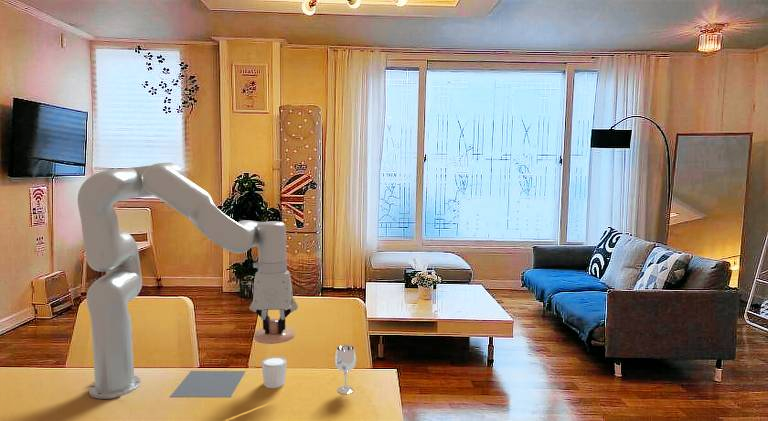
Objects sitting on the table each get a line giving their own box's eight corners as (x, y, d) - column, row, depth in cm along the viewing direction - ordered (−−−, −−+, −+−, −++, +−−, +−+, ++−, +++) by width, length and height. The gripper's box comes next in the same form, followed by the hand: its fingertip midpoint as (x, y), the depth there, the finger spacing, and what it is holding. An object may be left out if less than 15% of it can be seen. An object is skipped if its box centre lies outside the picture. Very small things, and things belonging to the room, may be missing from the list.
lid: (246, 336, 144) (245, 320, 143) (279, 326, 151) (279, 311, 151) (268, 347, 136) (268, 330, 135) (302, 336, 144) (302, 320, 143)
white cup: (257, 385, 145) (256, 361, 144) (277, 377, 150) (277, 354, 149) (271, 393, 141) (271, 368, 140) (292, 385, 146) (291, 361, 145)
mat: (169, 399, 137) (169, 396, 137) (191, 372, 153) (191, 370, 153) (230, 399, 137) (230, 397, 137) (245, 372, 153) (245, 371, 153)
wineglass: (352, 396, 140) (353, 353, 138) (332, 393, 141) (332, 351, 139) (358, 386, 145) (358, 345, 144) (338, 384, 146) (338, 343, 145)
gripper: (238, 270, 138) (240, 337, 140) (300, 270, 138) (302, 337, 140) (246, 263, 145) (248, 327, 147) (305, 264, 145) (306, 327, 147)
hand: (274, 331), depth 144 cm, fingers closed on lid, 3 cm apart
